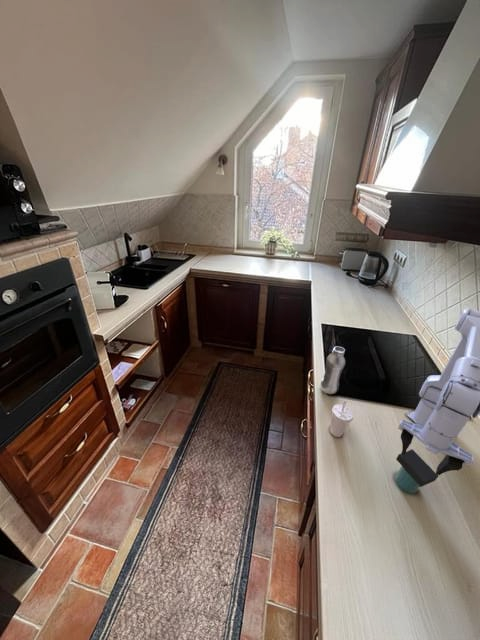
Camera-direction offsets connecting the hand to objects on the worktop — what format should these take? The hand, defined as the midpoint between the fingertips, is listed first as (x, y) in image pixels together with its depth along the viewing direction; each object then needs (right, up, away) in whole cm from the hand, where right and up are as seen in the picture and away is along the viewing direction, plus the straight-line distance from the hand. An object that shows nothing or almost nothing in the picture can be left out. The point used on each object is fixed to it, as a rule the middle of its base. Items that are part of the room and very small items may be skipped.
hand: (420, 461), depth 65 cm
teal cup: (0, -9, +5) cm, 10 cm away
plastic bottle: (-12, +8, +35) cm, 38 cm away
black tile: (0, -3, +2) cm, 4 cm away
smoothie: (-15, -1, +19) cm, 24 cm away
